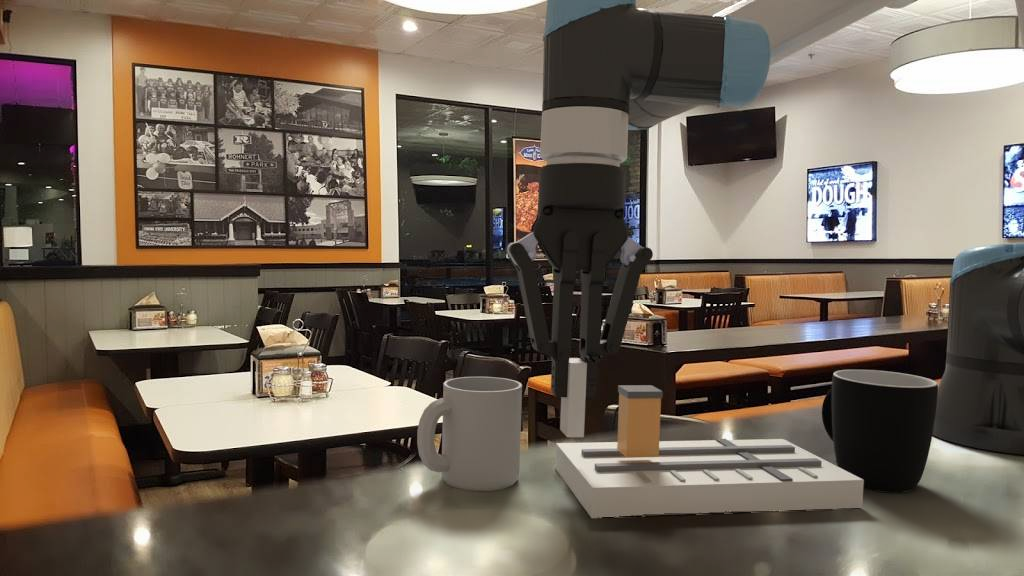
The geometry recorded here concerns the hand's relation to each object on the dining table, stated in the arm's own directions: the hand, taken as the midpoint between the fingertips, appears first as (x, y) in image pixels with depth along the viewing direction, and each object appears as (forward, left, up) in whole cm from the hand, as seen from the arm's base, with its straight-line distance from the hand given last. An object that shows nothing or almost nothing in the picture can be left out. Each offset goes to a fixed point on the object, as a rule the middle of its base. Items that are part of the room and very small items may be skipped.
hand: (571, 432), depth 65 cm
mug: (-30, -2, -6) cm, 31 cm away
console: (-12, 0, -5) cm, 13 cm away
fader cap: (-6, 0, -2) cm, 6 cm away
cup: (+9, -4, -6) cm, 11 cm away
